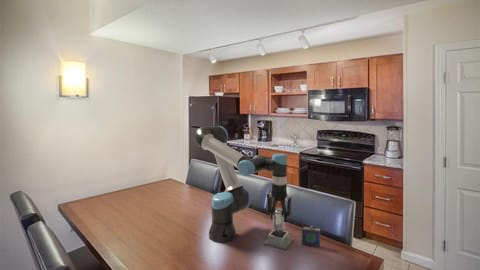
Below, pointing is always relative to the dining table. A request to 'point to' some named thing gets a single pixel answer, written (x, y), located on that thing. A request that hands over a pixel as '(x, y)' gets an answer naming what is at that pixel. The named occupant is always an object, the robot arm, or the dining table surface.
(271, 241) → the duct collar
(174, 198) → the dining table surface
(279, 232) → the silver canister
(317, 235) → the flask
